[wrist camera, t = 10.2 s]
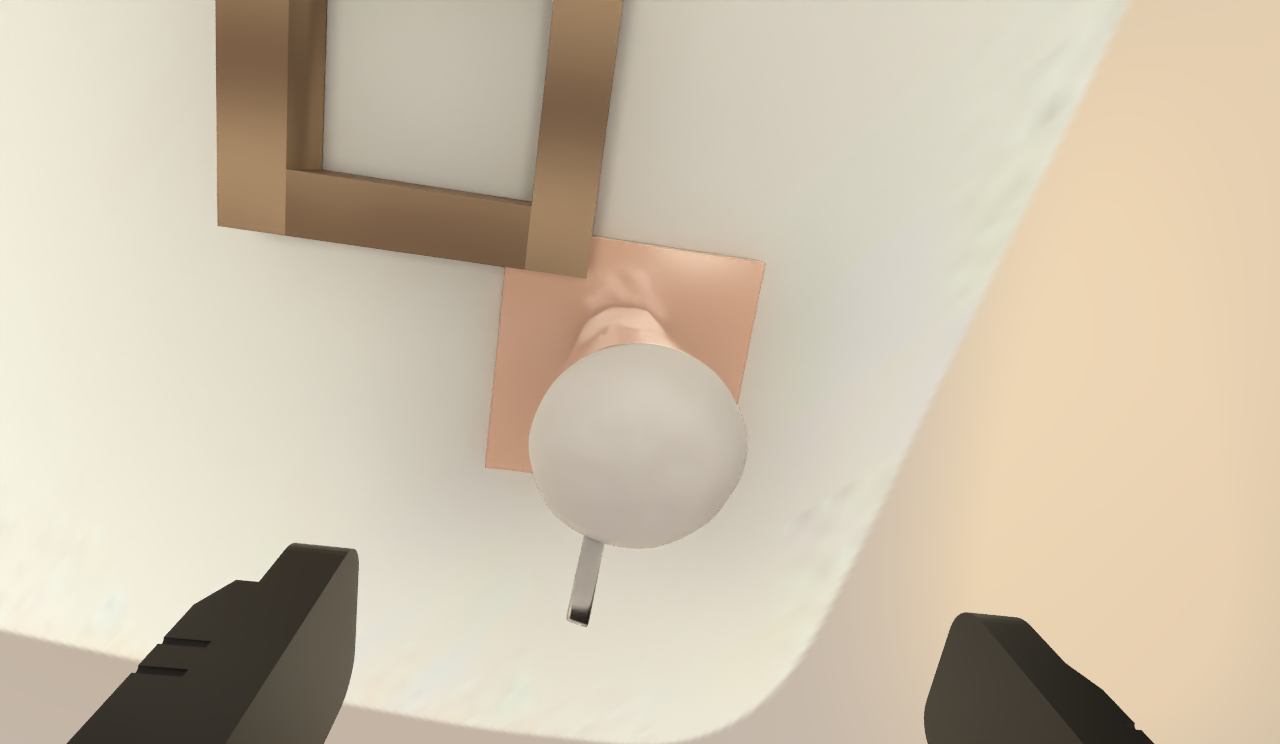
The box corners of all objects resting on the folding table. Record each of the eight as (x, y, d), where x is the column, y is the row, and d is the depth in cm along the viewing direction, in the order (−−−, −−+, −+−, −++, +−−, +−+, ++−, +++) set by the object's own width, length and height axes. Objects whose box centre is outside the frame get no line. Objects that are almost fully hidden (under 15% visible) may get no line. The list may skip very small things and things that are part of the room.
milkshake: (519, 409, 23) (463, 582, 13) (588, 260, 21) (583, 329, 12) (645, 462, 23) (679, 662, 14) (718, 321, 22) (811, 433, 13)
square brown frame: (263, -160, 18) (213, -210, 16) (634, -87, 19) (639, -124, 17) (260, 219, 21) (217, 225, 19) (587, 267, 22) (586, 278, 20)
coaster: (511, 223, 22) (509, 225, 21) (761, 261, 22) (765, 263, 22) (488, 460, 24) (485, 467, 23) (716, 486, 24) (719, 494, 24)
